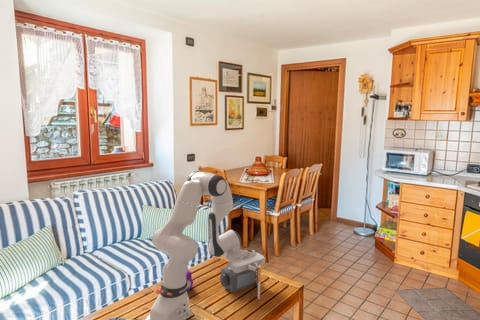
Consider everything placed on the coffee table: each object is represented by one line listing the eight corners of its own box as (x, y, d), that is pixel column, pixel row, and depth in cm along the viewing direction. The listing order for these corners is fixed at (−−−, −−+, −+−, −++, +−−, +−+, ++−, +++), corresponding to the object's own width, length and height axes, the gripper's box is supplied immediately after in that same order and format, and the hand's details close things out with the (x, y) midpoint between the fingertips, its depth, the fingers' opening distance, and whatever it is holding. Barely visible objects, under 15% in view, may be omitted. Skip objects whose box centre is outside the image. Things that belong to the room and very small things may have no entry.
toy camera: (183, 297, 167) (183, 279, 166) (165, 288, 175) (165, 270, 174) (198, 288, 176) (198, 271, 174) (180, 280, 184) (181, 263, 182)
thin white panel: (256, 299, 167) (257, 267, 164) (256, 283, 182) (257, 254, 180) (259, 299, 167) (261, 267, 164) (259, 283, 182) (260, 254, 180)
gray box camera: (217, 284, 180) (218, 268, 179) (244, 275, 191) (244, 260, 189) (228, 294, 171) (229, 276, 170) (255, 284, 182) (256, 267, 180)
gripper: (225, 258, 171) (241, 268, 160) (255, 249, 183) (272, 258, 173) (225, 269, 172) (240, 280, 161) (255, 259, 184) (271, 269, 174)
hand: (257, 269), depth 167 cm, fingers closed
